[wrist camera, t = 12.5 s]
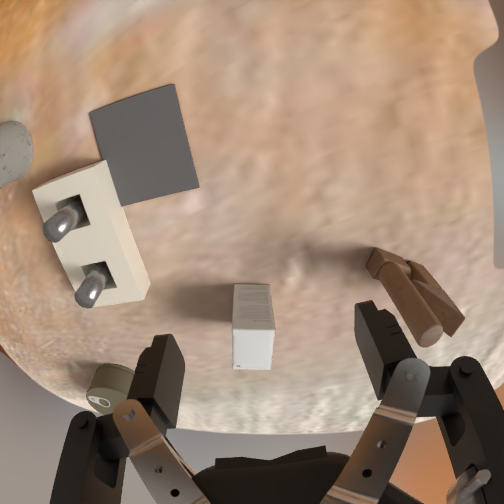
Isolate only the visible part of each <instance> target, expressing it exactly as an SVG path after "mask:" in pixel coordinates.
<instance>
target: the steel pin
mask: <svg viewBox="0 0 504 504" xmlns="http://www.w3.org/2000/svg"><path fill="white" fill-rule="evenodd" d="M86 215H87V213H86V211H85V208H84V205H83V202H82V199H81V197H80V195H79V196H77V197H76V198H75V199H73V200H72V201H71V202H69V203H68V204H67V205H66V206H64V207H63V208H62V209H60V210H59V211H58V212H57V213H55V214H54V215H53V216H52V217H51V218H49V219H48V220H47V221H46V222H45V223H44V225H43V233H44V235H45V237H46V238H47V239H48V240H49V241H51V242H53V243H57V242H59V241H60V240H61V239H62V238H63V237H64V236H65V235H66V234H67V233H68V232H69V231H70V230H71V229H72V228H74V227H75V226H76V225H77V224H78V223H79V222H80V221H81V220H82V219H83V218H84V217H85V216H86Z"/></svg>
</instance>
